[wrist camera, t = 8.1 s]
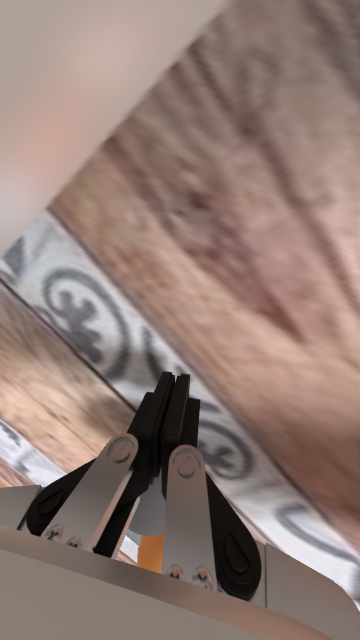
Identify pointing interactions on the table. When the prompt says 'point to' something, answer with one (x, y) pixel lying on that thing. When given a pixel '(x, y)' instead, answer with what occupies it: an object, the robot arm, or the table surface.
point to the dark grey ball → (150, 511)
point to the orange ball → (150, 552)
